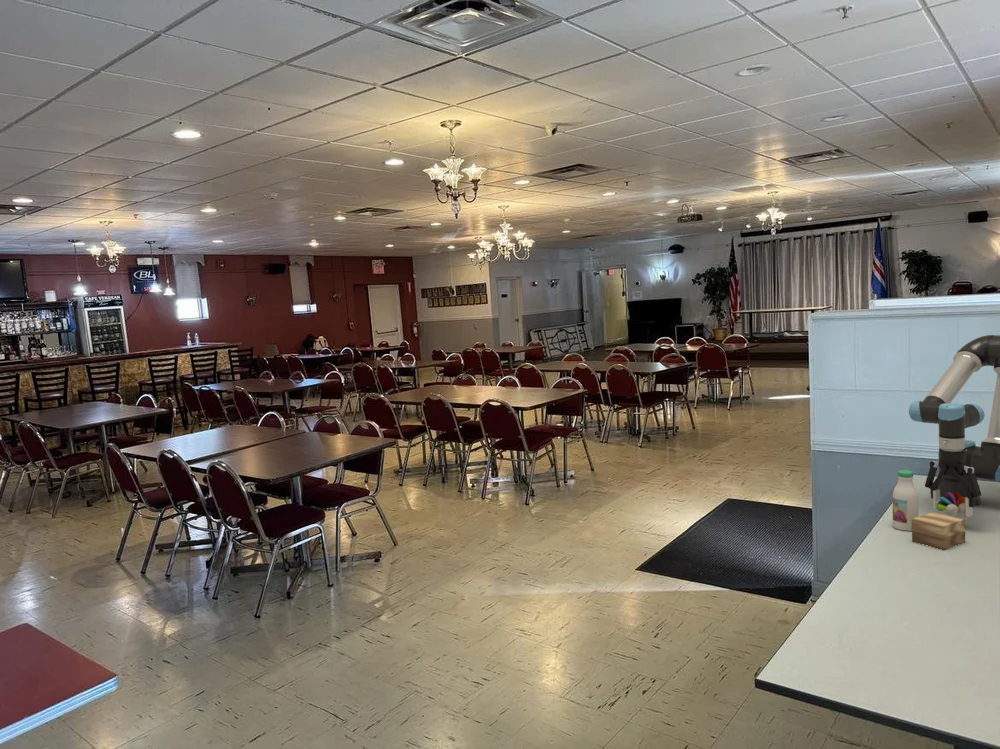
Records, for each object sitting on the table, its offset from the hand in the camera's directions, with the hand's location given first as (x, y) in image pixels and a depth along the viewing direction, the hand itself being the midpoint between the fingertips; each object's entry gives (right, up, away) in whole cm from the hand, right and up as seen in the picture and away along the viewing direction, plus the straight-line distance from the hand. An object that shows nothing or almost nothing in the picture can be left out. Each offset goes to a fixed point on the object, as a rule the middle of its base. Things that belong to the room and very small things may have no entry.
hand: (952, 511), depth 240 cm
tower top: (-14, -4, -13) cm, 19 cm away
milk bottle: (-16, -6, +1) cm, 17 cm away
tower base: (-13, -8, -13) cm, 20 cm away
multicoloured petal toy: (0, 0, 0) cm, 1 cm away
